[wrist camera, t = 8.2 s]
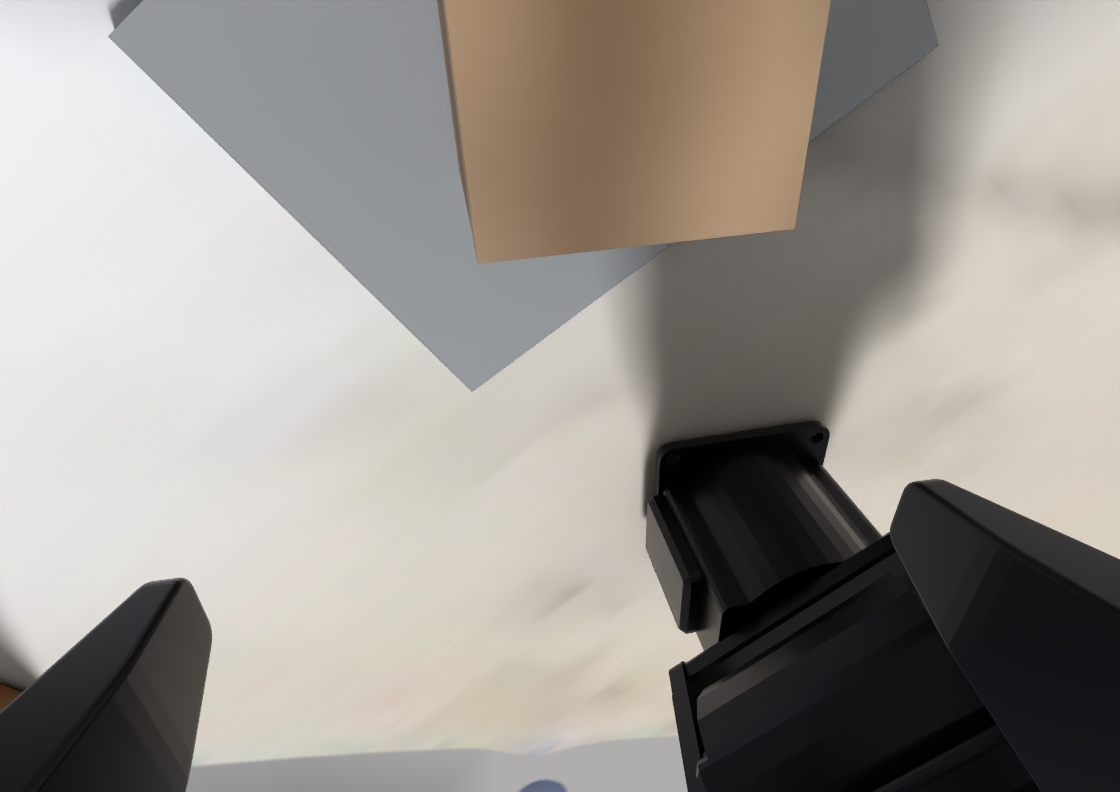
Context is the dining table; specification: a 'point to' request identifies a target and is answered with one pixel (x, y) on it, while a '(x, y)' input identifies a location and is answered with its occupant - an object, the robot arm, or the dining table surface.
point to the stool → (629, 119)
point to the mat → (419, 148)
